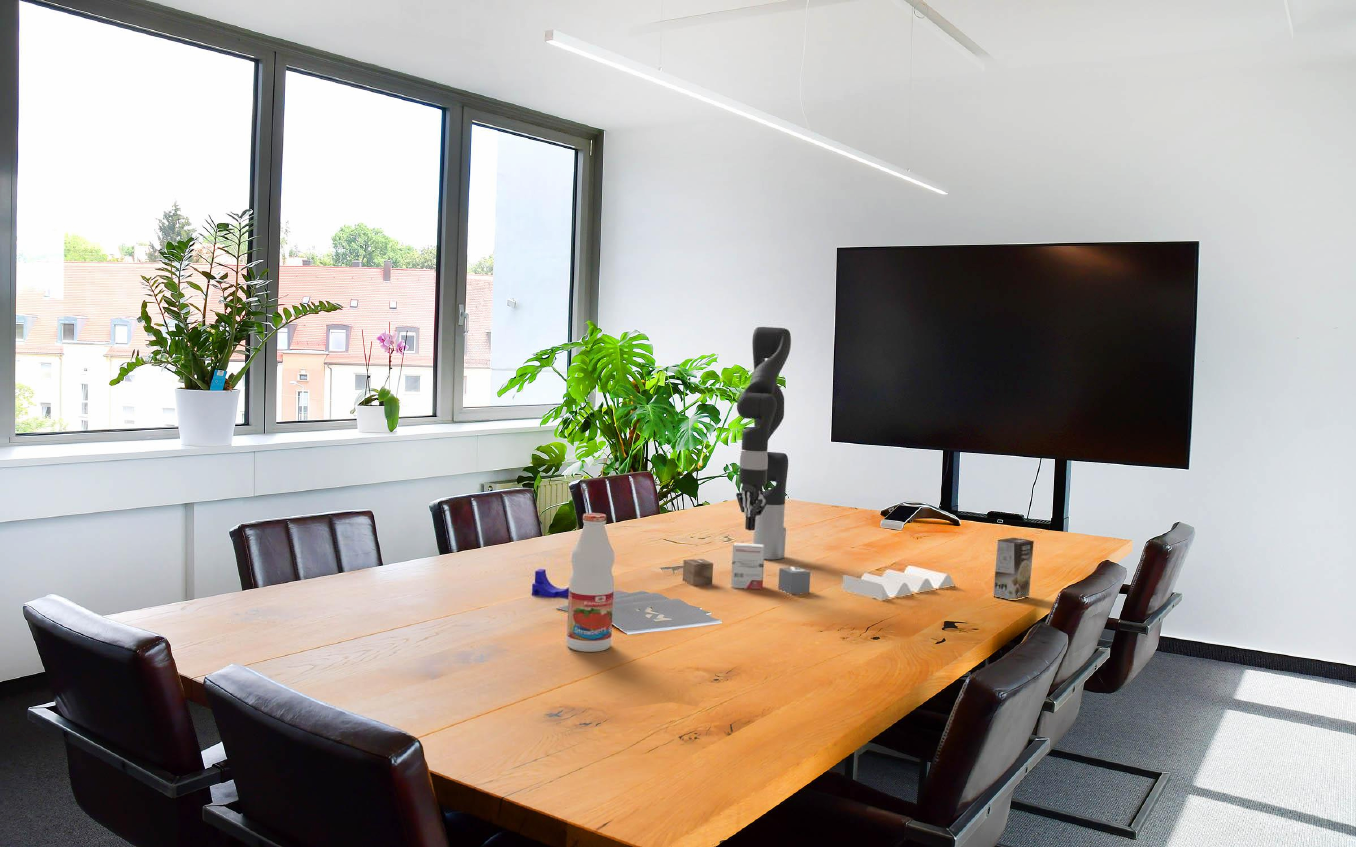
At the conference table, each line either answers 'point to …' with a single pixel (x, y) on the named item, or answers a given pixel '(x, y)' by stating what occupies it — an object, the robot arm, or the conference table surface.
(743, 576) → the ink box
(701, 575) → the walnut block
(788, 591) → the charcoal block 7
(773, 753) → the conference table surface
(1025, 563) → the coffee box
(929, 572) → the white taco holder
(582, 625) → the fruit juice
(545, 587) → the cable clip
